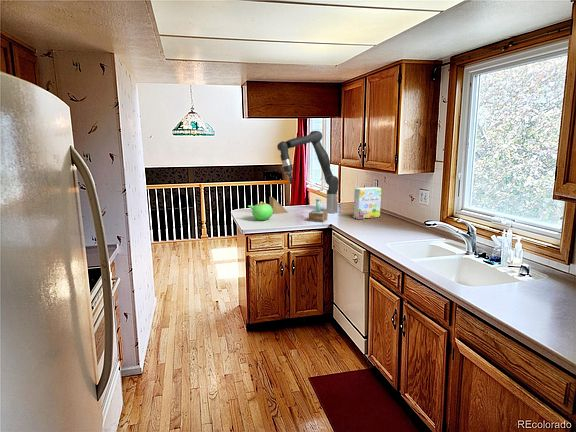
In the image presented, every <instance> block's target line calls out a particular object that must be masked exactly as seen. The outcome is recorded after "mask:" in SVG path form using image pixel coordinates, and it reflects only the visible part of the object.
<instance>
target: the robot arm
mask: <svg viewBox="0 0 576 432" xmlns="http://www.w3.org/2000/svg"><path fill="white" fill-rule="evenodd" d="M322 139H323V133H322V132H321V131H320V130H312V131H310V132H309V134H308V135H303V136H298V137H294V138H291V139H288V140H286V141H280V142H278V143H277V146H276V147H277V150H278V151H280V161H281V166H282V169H283V172H284V173H286V176H287V178H288V180H289V183H290V185H293V184H294V181H293V174H292V172H291V171H293V170H294V168H293V165H292V164H293V163H292V161H291V158H290V154H289V149H292V148H296V147H299V146H302V145H305V144H309V143H311V144H312V147H313V149H314V151H315V155H316V157H317V159H318V160H317V161H318V162H319V165H320V169H321V170H322V173H323V175H324V180H325V183H326V185H328V189H327V190H326V208H325V209H326V210H325V211H328V214H337V213H338V209H339V207H338V206H339V205H338V204H339V202H338V191H339V178H338V177H337V176H336V175H333V172H332V170H331V160H330V157H329V155H328V153H327V151H326V149H325V148H324V147H323V145H322V142H321V141H322Z"/></svg>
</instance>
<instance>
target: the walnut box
mask: <svg viewBox="0 0 576 432" xmlns="http://www.w3.org/2000/svg"><path fill="white" fill-rule="evenodd" d="M314 211H316V209H314V210H312V211H309V212H308V222H315V223H324V222H325V221H327V220H328V214H329V213H328V211H326V210H323V211H324V212H323V213H312V212H314Z"/></svg>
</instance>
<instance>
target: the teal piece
mask: <svg viewBox="0 0 576 432" xmlns="http://www.w3.org/2000/svg"><path fill="white" fill-rule="evenodd" d="M321 202H322V199H321V198H315V210H316V211H314V212H312V213H323V212H324V211H325V210H321V205H322V204H321Z"/></svg>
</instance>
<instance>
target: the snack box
mask: <svg viewBox="0 0 576 432" xmlns="http://www.w3.org/2000/svg"><path fill="white" fill-rule="evenodd" d="M382 189H383V188H381V187H377V186H371V187H355V188H354V198H353V216H352V217H353V219H355V218H356V219H355V220H357V219H362V220H364V219H363V218H370V217H379V216H381V205H382Z"/></svg>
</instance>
